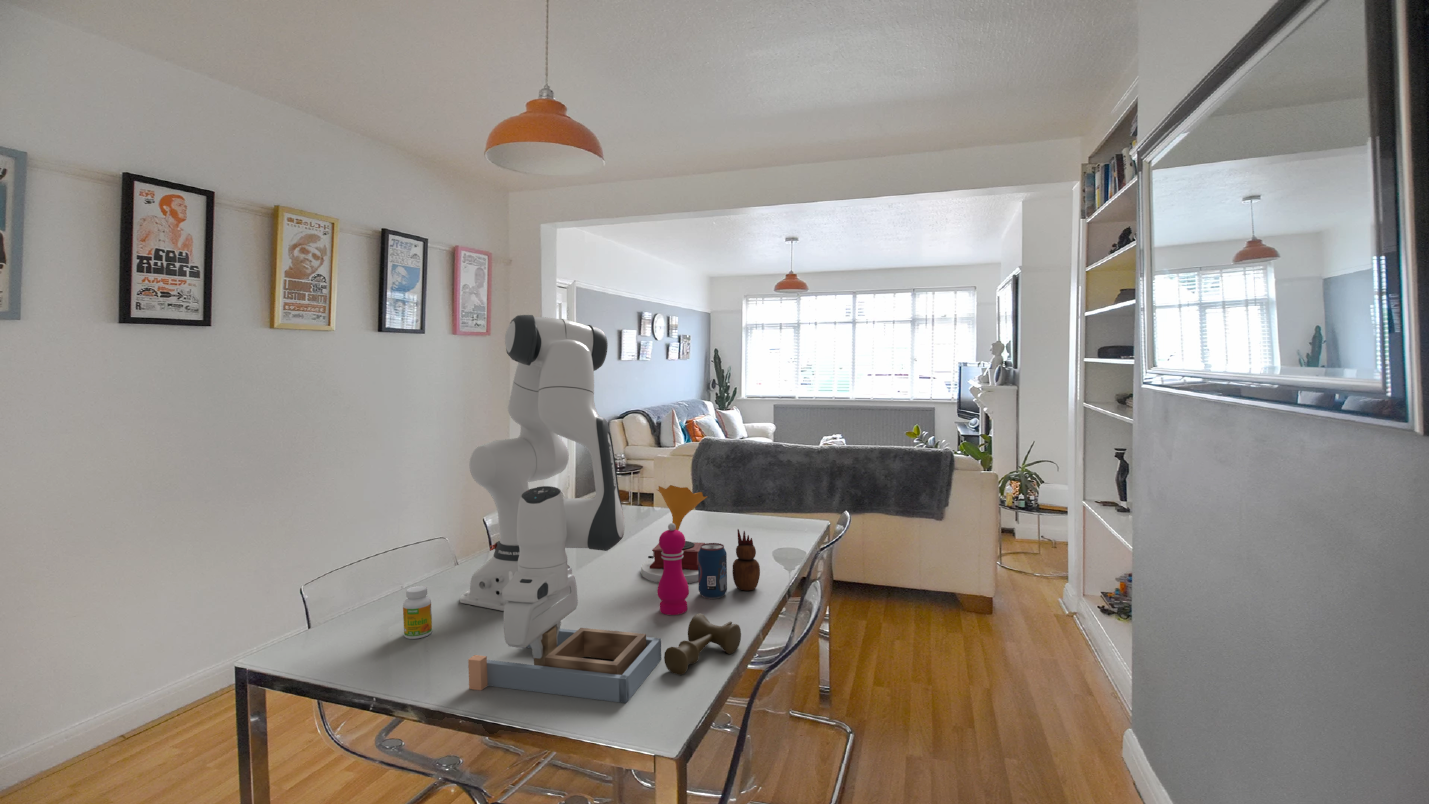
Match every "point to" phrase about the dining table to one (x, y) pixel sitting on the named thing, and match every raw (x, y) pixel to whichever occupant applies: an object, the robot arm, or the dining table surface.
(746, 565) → the wooden figurine
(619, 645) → the wooden square frame
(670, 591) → the pepper mill
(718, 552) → the soda can
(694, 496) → the gramophone
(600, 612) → the dining table surface
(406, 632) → the supplement bottle
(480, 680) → the frame
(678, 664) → the kendama
